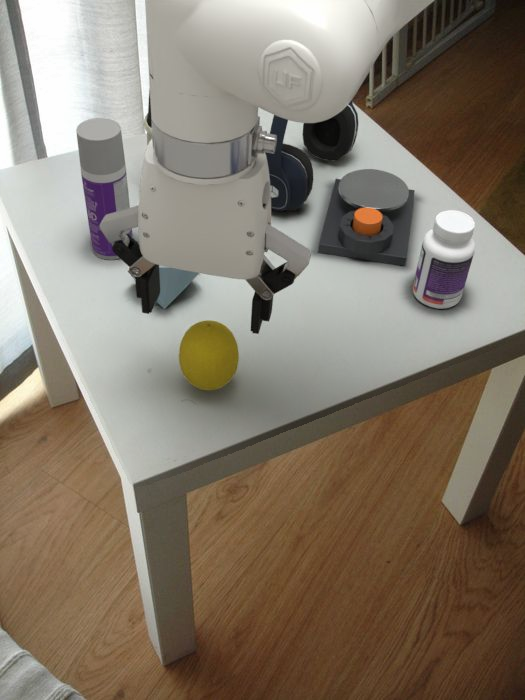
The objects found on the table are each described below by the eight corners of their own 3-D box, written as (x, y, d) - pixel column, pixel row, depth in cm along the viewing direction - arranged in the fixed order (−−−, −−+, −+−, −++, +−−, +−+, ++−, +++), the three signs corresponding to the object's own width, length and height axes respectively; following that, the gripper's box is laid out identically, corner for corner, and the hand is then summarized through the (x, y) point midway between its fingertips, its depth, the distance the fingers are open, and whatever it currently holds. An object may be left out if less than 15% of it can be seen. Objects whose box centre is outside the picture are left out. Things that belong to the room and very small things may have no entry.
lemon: (194, 414, 73) (192, 354, 67) (171, 375, 76) (167, 314, 70) (248, 395, 75) (250, 335, 69) (222, 357, 78) (223, 297, 72)
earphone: (314, 137, 108) (327, 3, 95) (360, 151, 106) (380, 16, 93) (244, 209, 96) (248, 66, 83) (294, 227, 94) (307, 82, 81)
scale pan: (410, 178, 97) (411, 174, 96) (405, 216, 91) (406, 213, 91) (343, 168, 98) (343, 164, 97) (333, 205, 92) (334, 202, 92)
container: (84, 253, 89) (65, 134, 78) (105, 230, 92) (90, 113, 81) (120, 264, 88) (107, 145, 77) (140, 241, 91) (130, 123, 80)
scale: (413, 198, 99) (417, 177, 97) (404, 269, 89) (408, 248, 87) (334, 186, 100) (337, 166, 98) (317, 255, 90) (319, 234, 88)
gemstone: (192, 306, 78) (192, 256, 78) (118, 307, 79) (117, 258, 79) (206, 311, 86) (206, 265, 86) (138, 312, 87) (138, 267, 87)
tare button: (381, 222, 91) (383, 209, 89) (378, 238, 88) (381, 225, 87) (354, 217, 91) (356, 205, 90) (350, 234, 89) (352, 221, 88)
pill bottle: (471, 299, 86) (493, 226, 79) (435, 316, 83) (454, 243, 77) (437, 272, 89) (455, 199, 82) (401, 288, 87) (417, 215, 80)
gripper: (330, 131, 58) (308, 302, 70) (107, 97, 60) (123, 269, 72) (314, 186, 53) (293, 361, 65) (71, 147, 55) (95, 324, 67)
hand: (204, 312), depth 69 cm, fingers open, 9 cm apart
